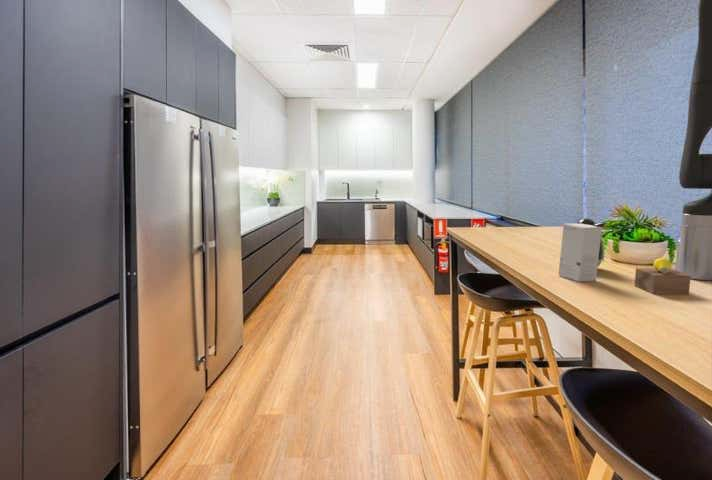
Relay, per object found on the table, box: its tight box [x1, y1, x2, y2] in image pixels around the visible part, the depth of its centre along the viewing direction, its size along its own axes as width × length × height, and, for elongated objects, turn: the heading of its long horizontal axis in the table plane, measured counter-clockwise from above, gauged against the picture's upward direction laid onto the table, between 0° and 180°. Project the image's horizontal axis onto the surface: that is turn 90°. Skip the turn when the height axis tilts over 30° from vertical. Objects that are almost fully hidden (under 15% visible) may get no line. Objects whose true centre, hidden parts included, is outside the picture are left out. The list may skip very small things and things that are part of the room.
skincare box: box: [558, 223, 603, 283], centre depth 119 cm, size 8×6×15 cm
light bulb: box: [653, 257, 672, 275], centre depth 105 cm, size 3×6×4 cm, turn 154°
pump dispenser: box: [576, 218, 606, 267], centre depth 132 cm, size 10×10×15 cm
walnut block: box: [634, 267, 691, 296], centre depth 107 cm, size 8×8×5 cm
